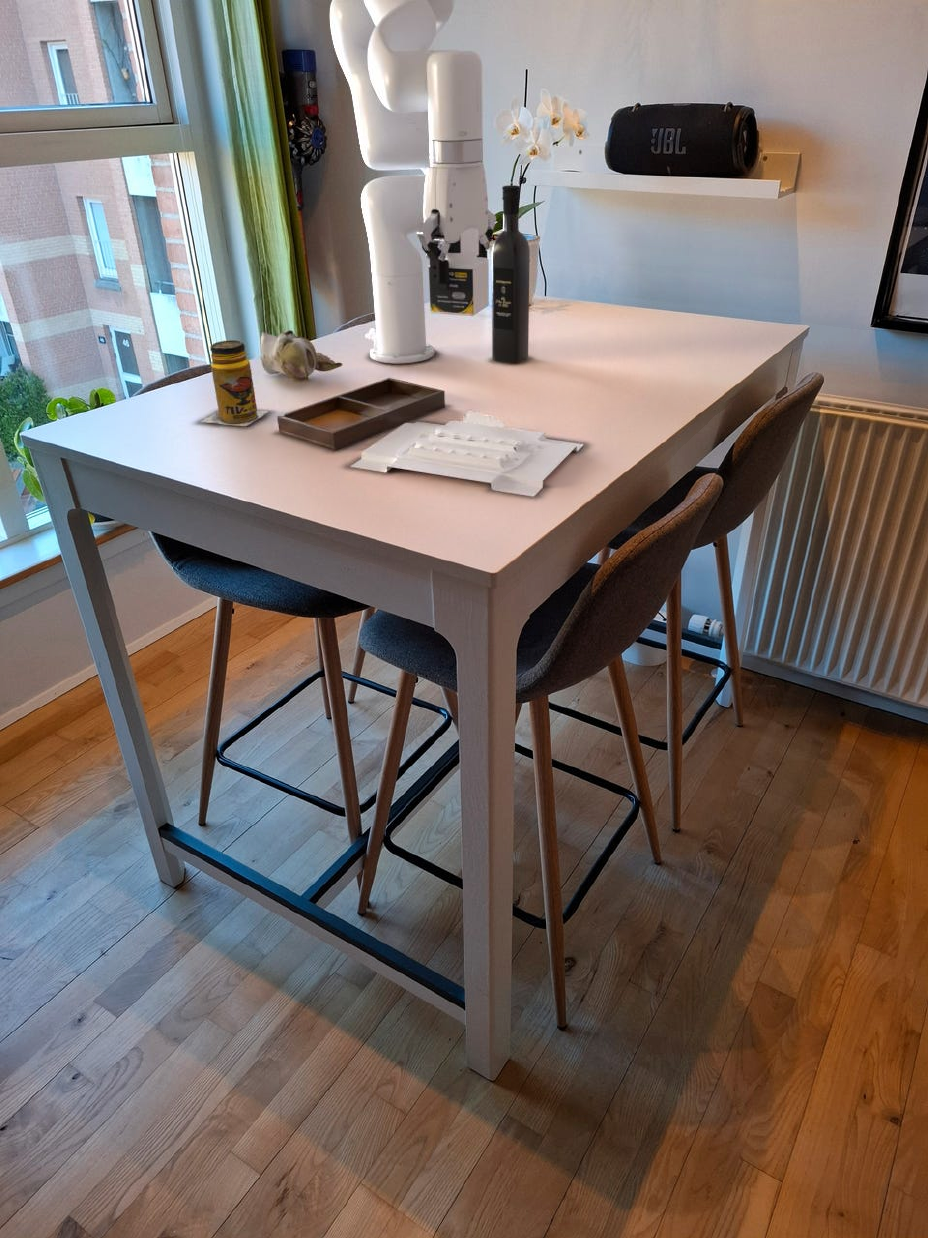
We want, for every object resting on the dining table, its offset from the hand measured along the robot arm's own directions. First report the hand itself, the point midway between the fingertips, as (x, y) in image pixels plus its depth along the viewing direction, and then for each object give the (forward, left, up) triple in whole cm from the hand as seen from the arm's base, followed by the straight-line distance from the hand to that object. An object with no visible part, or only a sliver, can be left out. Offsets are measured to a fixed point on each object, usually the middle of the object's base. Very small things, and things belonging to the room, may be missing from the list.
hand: (459, 281), depth 135 cm
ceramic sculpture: (-37, -4, -20) cm, 42 cm away
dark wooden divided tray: (-10, -13, -20) cm, 26 cm away
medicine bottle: (0, 0, -4) cm, 4 cm away
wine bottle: (-12, +28, -20) cm, 36 cm away
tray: (+14, -15, -20) cm, 29 cm away
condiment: (-28, -25, -20) cm, 42 cm away
